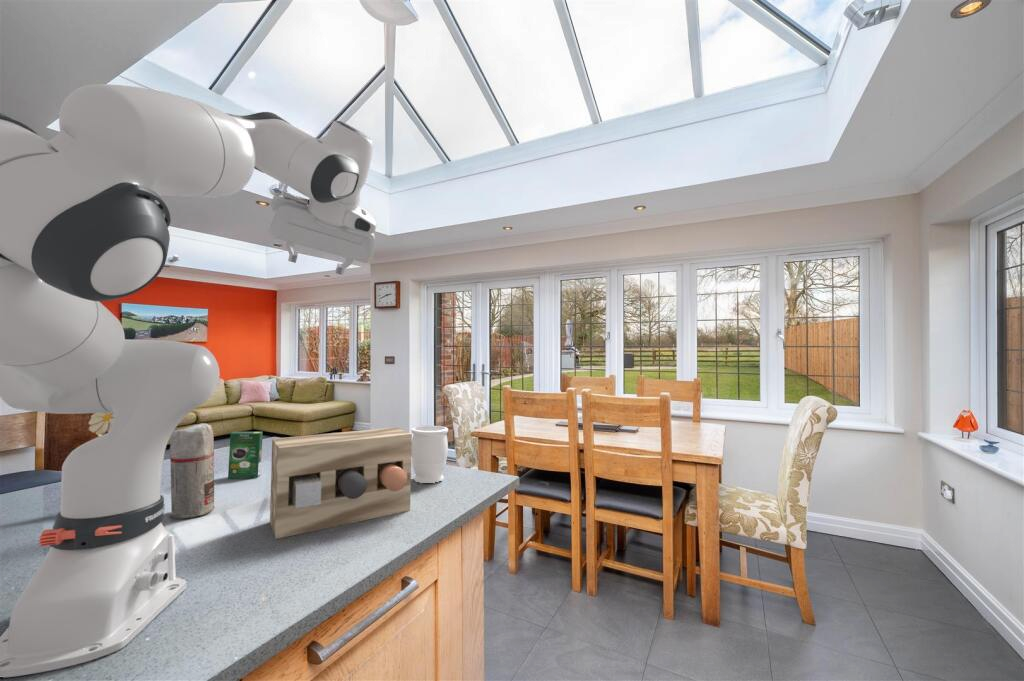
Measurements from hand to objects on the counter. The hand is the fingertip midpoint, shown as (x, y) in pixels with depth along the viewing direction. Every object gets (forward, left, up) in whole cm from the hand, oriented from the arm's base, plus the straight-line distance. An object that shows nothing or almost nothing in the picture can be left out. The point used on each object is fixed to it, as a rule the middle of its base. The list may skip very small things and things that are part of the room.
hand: (316, 267), depth 93 cm
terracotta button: (0, -17, -49) cm, 52 cm away
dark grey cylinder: (-2, -8, -49) cm, 50 cm away
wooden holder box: (+4, -7, -55) cm, 56 cm away
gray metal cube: (-5, 0, -49) cm, 49 cm away
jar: (+25, -30, -56) cm, 68 cm away
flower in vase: (+25, +44, -56) cm, 75 cm away
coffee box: (+43, +20, -56) cm, 73 cm away
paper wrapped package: (+16, +25, -56) cm, 63 cm away
